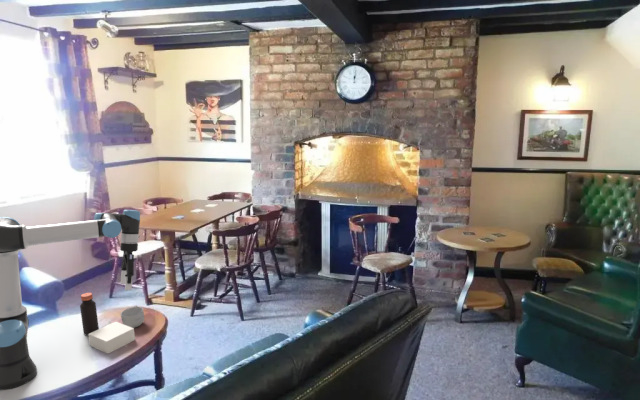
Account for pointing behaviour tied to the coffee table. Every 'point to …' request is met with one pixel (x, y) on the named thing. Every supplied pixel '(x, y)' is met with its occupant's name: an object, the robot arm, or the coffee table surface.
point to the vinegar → (88, 314)
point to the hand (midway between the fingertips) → (125, 287)
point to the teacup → (132, 316)
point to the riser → (111, 337)
